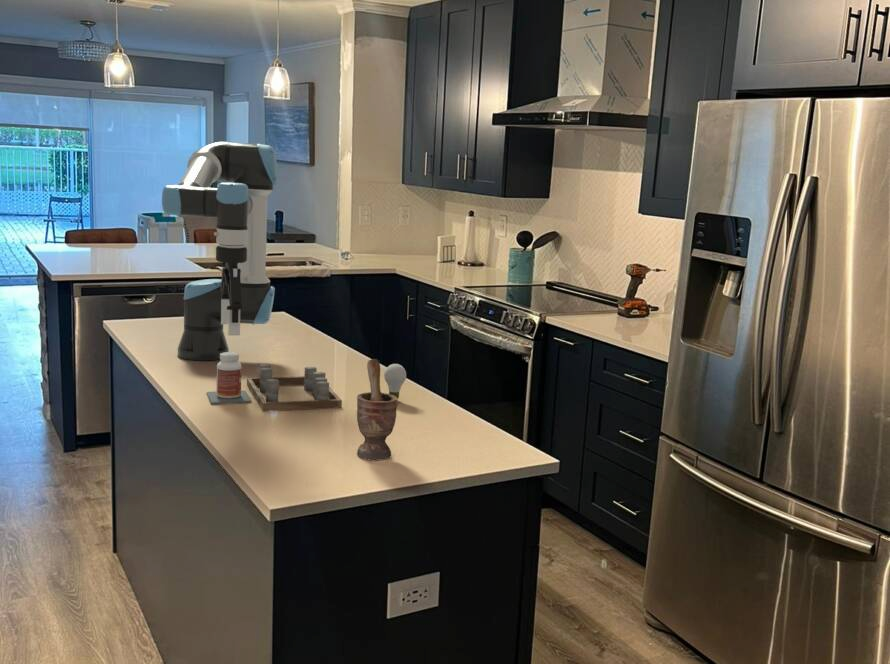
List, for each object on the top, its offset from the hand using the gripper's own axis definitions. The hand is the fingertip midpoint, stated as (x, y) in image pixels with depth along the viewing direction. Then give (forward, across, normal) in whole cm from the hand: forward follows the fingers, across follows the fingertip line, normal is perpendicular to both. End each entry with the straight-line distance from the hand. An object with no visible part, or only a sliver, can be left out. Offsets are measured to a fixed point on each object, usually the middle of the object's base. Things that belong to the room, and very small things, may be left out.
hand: (230, 329), depth 221 cm
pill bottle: (+18, 0, 0) cm, 18 cm away
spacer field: (+18, 0, +16) cm, 24 cm away
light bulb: (+18, +8, +42) cm, 46 cm away
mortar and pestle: (+18, +47, +24) cm, 56 cm away
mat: (+18, 0, 0) cm, 18 cm away
